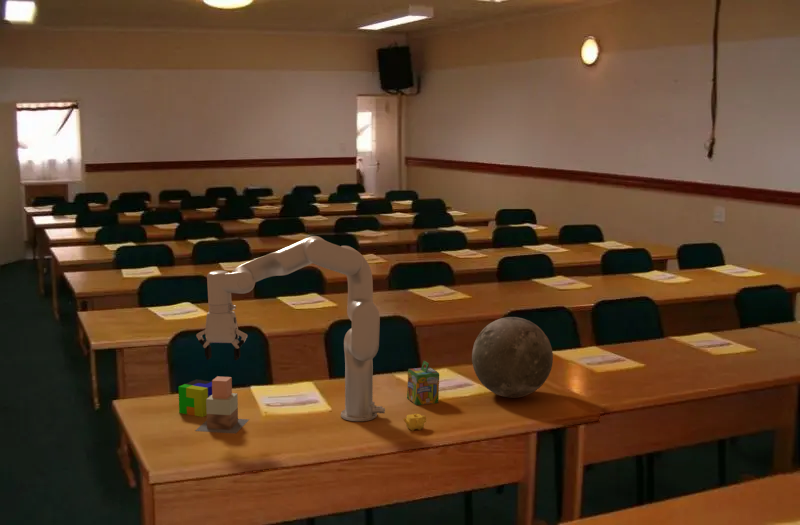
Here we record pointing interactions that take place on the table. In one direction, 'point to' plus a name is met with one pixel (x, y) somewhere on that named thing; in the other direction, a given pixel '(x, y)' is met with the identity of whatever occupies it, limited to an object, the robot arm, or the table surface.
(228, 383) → the terracotta block
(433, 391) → the chalk box
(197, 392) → the puzzle toy
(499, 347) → the globe
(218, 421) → the tower base
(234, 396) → the tower top
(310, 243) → the robot arm
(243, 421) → the mat
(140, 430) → the table surface
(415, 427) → the teapot
